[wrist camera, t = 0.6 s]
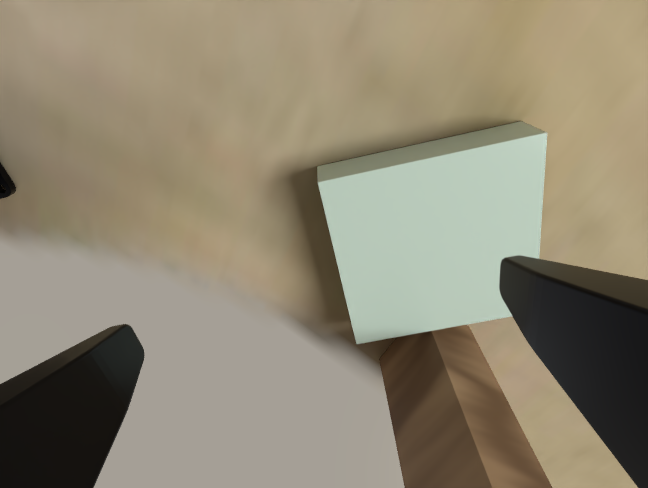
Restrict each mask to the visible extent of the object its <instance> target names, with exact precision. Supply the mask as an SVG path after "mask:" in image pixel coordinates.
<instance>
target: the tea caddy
mask: <svg viewBox="0 0 648 488" xmlns="http://www.w3.org/2000/svg"><path fill="white" fill-rule="evenodd" d="M379 360H380V365H381V370H382V375H383V380H384V385H385V390H386V395H387V400H388V405H389V410H390V415H391V420H392V425H393V430H394V435H395V440H396V445H397V451H398V456H399V460H400V466H401V471H402V476H403V481H404V486H405V488H552V486H551V484H550V482H549V480H548V478H547V476H546V475H545V473H544V471H543V469H542V467H541V465H540V463H539V461H538V459H537V457H536V455H535V453H534V451H533V449H532V448H531V446H530V444H529V442H528V440H527V438H526V436H525V434H524V432H523V430H522V428H521V426H520V424H519V422H518V420H517V419H516V417H515V415H514V413H513V411H512V409H511V407H510V405H509V403H508V401H507V399H506V397H505V395H504V393H503V391H502V390H501V388H500V386H499V384H498V382H497V380H496V378H495V376H494V374H493V372H492V370H491V368H490V366H489V364H488V362H487V361H486V359H485V357H484V355H483V353H482V351H481V349H480V347H479V345H478V343H477V341H476V339H475V337H474V335H473V333H472V332H471V330H470V328H469V326H467V325H461V326H456V327H450V328H445V329H439V330H433V331H428V332H422V333H417V334H411V335H406V336H400V337H397V338H396V339H395V340H394V342H393V343H392V344H391V345H390V347H389V348H388V349H387V350H386V352H385V353H384V354H383V355H382V356H381V358H380V359H379Z"/></svg>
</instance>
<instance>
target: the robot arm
mask: <svg viewBox="0 0 648 488" xmlns="http://www.w3.org/2000/svg"><path fill="white" fill-rule="evenodd" d="M1 185H3V186H4V187H5V188H6V190H5V189H3V188H2V187H1ZM15 191H16V187H15V184H14V183H13V181H12V180H11V178H10V177H9V175H8V174H7V172H6V170H5V169H4V167H3V166H2V164H1V163H0V199H1V198H5V197H8V196H10V195H12V194H14V193H15ZM499 290H500V294H501V297H502V299H503V301H504V302H505V304H506V306H507V308H508V309H509V311H510V313H511V314H512V316H513V318H514V320H515V321H516V323H517V325H518V326H519V328H520V330H521V332H522V333H523V335H524V337H525V338H526V340H527V342H528V343H529V345H530V346H531V347H532V349H533V350H534V352H535V353H536V354H537V355H538V357H539V358H540V359H541V361H542V362H543V363H544V365H545V366H546V367H547V369H548V370H549V371H550V372H551V374H552V375H553V376H554V378H555V379H556V380H557V382H558V383H559V384H560V386H561V387H562V388H563V390H564V391H565V392H566V393H567V395H568V396H569V397H570V399H571V400H572V401H573V403H574V404H575V405H576V407H577V408H578V409H579V410H580V412H581V413H582V414H583V416H584V417H585V418H586V420H587V421H588V422H589V424H590V425H591V426H592V428H593V429H594V430H595V431H596V433H597V434H598V435H599V437H600V438H601V439H602V441H603V442H604V443H605V445H606V446H607V447H608V449H609V450H610V451H611V452H612V454H613V455H614V456H615V458H616V459H617V460H618V462H619V463H620V464H621V466H622V467H623V468H624V469H625V471H626V472H627V473H628V475H629V476H630V477H631V479H632V480H633V481H634V483H635V484H636V485H637V487H638V488H648V280H644V279H639V278H634V277H629V276H624V275H618V274H613V273H608V272H603V271H598V270H593V269H588V268H583V267H578V266H573V265H568V264H562V263H557V262H552V261H547V260H542V259H537V258H532V257H527V256H522V255H517V256H511V257H505V258H503V259H502V260H501V264H500V280H499ZM143 361H144V349H143V347H142V345H141V343H140V341H139V340H138V338H137V336H136V334H135V333H134V331H133V329H132V328H131V326H129V325H127V324H123V325H117V326H112V327H110V328H108V329H106V330H104V331H102V332H100V333H98V334H96V335H94V336H92V337H90V338H88V339H86V340H84V341H83V342H81V343H79V344H77V345H75V346H73V347H71V348H69V349H67V350H65V351H63V352H61V353H60V354H58V355H56V356H54V357H52V358H50V359H48V360H46V361H44V362H42V363H40V364H38V365H37V366H34V367H33V368H31V369H29V370H27V371H25V372H23V373H21V374H19V375H17V376H15V377H13V378H11V379H9V380H8V381H6V382H4V383H2V384H0V488H93V487H94V485H95V483H96V481H97V479H98V476H99V474H100V472H101V469H102V467H103V465H104V463H105V460H106V458H107V456H108V454H109V451H110V449H111V447H112V445H113V442H114V440H115V438H116V436H117V433H118V431H119V429H120V427H121V424H122V422H123V419H124V417H125V415H126V413H127V410H128V407H129V404H130V402H131V398H132V395H133V392H134V389H135V386H136V383H137V379H138V376H139V373H140V370H141V367H142V364H143Z"/></svg>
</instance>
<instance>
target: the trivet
mask: <svg viewBox="0 0 648 488" xmlns="http://www.w3.org/2000/svg"><path fill="white" fill-rule="evenodd" d="M546 144H547V132H545V131H543V130H541V129H538V128H536V127H534V126H532V125H530V124H527V123H525V122H523V121H520V122H516V123H511V124H506V125H502V126H497V127H493V128H488V129H484V130H479V131H475V132H470V133H466V134H461V135H457V136H452V137H448V138H443V139H439V140H434V141H430V142H425V143H421V144H416V145H411V146H407V147H402V148H398V149H393V150H389V151H384V152H380V153H375V154H371V155H366V156H362V157H357V158H353V159H348V160H344V161H339V162H335V163H330V164H326V165H321V166H317V177H318V186H319V190H320V194H321V198H322V203H323V207H324V211H325V215H326V219H327V223H328V228H329V232H330V236H331V240H332V244H333V248H334V253H335V257H336V261H337V265H338V269H339V273H340V278H341V282H342V286H343V290H344V294H345V298H346V303H347V307H348V311H349V315H350V319H351V323H352V328H353V332H354V336H355V340H356V344H361V343H367V342H372V341H378V340H383V339H389V338H395V337H400V336H406V335H411V334H417V333H422V332H428V331H433V330H439V329H445V328H450V327H456V326H461V325H467V324H472V323H478V322H483V321H489V320H495V319H500V318H506V317H511V316H512V314H511V313H510V311H509V309H508V308H507V306H506V304H505V302H504V301H503V299H502V297H501V294H500V290H499V280H500V264H501V260H502V259H503V258H505V257H511V256H517V255H522V256H527V257H532V258H537V259H539V250H540V235H541V220H542V205H543V189H544V174H545V159H546Z"/></svg>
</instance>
